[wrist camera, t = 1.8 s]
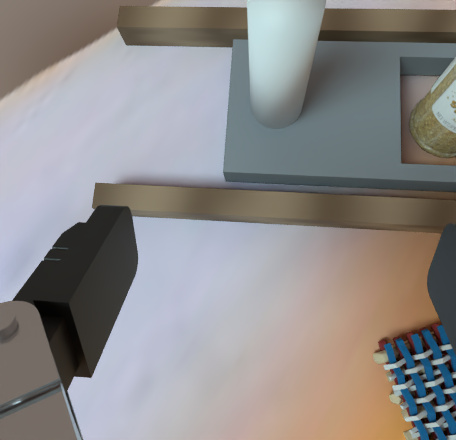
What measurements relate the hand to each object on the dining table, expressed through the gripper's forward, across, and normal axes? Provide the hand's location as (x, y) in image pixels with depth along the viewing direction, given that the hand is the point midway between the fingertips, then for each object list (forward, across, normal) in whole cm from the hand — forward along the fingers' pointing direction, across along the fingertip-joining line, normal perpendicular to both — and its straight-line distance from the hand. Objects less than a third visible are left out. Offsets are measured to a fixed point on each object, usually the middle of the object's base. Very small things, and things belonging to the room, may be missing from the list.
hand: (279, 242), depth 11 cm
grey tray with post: (+18, -8, +3) cm, 20 cm away
